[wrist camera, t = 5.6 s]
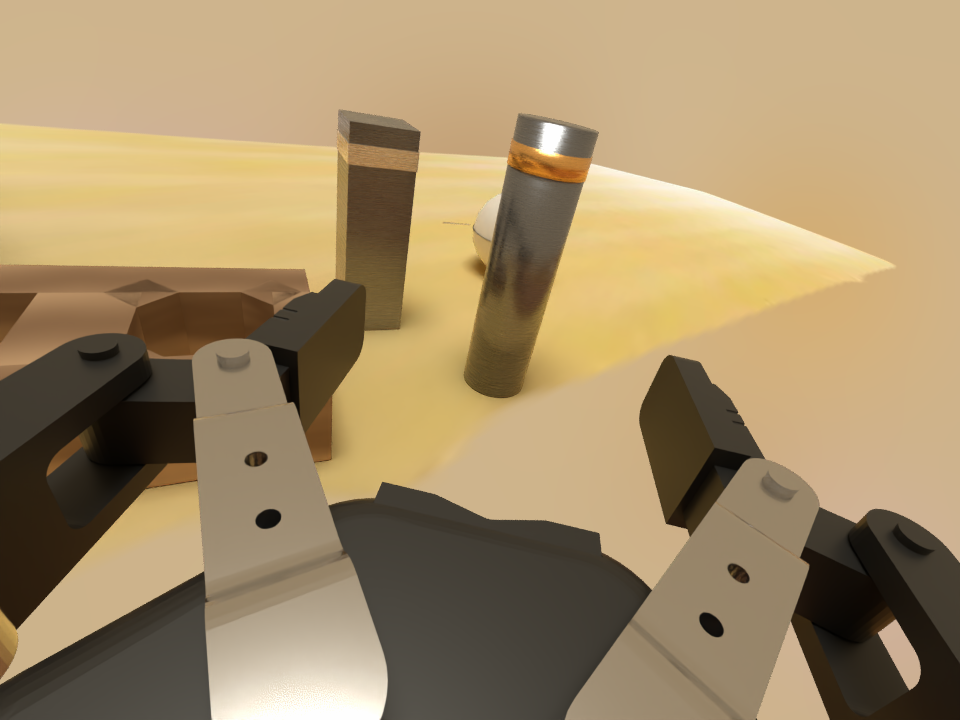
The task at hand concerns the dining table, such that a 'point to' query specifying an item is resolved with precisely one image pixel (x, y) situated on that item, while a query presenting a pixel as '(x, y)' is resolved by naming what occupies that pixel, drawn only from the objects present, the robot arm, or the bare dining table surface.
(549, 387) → the dining table surface
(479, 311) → the cylinder
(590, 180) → the dining table surface
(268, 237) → the dining table surface
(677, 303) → the dining table surface
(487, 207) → the seamed sphere
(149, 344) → the block
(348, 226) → the square bit
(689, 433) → the robot arm
